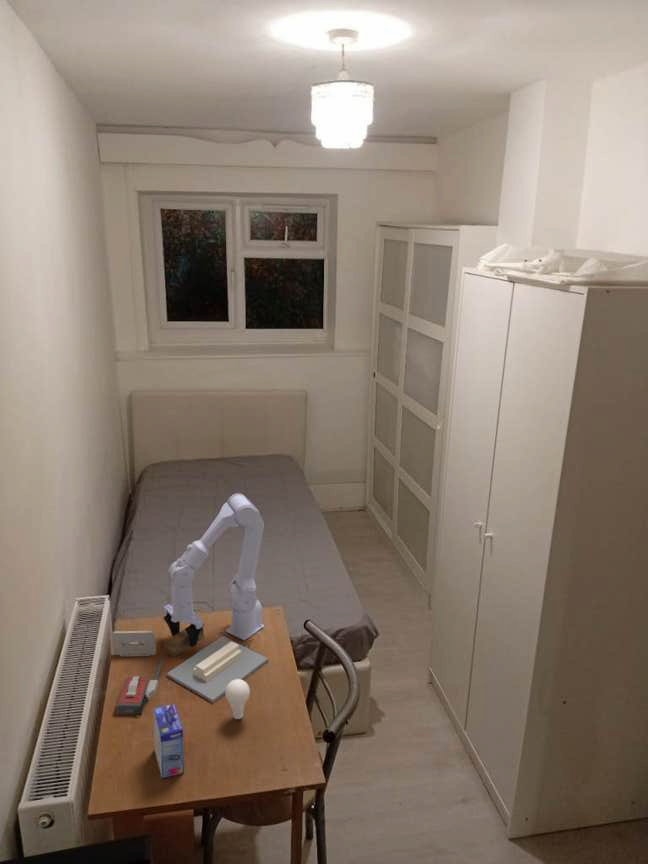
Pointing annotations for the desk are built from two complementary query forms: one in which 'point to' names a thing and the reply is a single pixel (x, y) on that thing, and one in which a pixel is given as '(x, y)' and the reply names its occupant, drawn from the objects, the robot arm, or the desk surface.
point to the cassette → (134, 649)
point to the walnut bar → (179, 642)
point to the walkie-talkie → (136, 693)
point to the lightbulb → (237, 696)
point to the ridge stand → (217, 668)
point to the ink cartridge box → (168, 740)
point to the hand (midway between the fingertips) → (184, 640)
